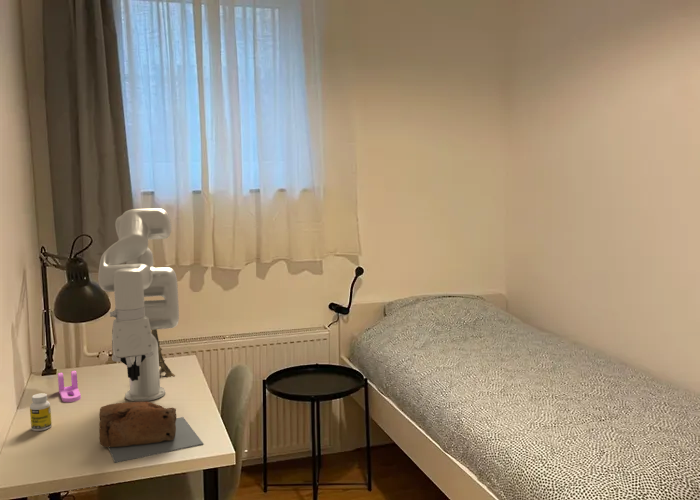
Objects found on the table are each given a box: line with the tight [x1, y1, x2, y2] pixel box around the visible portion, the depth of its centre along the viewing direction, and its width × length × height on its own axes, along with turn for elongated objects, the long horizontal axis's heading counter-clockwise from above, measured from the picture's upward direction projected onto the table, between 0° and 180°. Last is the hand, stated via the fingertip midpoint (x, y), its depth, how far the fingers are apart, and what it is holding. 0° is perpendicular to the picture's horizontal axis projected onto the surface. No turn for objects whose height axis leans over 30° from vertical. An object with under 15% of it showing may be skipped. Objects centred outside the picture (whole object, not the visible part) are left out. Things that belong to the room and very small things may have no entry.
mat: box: [107, 416, 204, 464], centre depth 186 cm, size 22×23×1 cm
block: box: [98, 401, 177, 448], centre depth 183 cm, size 11×8×20 cm
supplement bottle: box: [29, 392, 52, 432], centre depth 194 cm, size 5×5×10 cm
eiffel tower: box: [151, 329, 176, 378], centre depth 241 cm, size 11×11×25 cm
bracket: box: [57, 370, 82, 403], centre depth 221 cm, size 13×6×7 cm, turn 29°
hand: (134, 379), depth 184 cm, fingers closed
